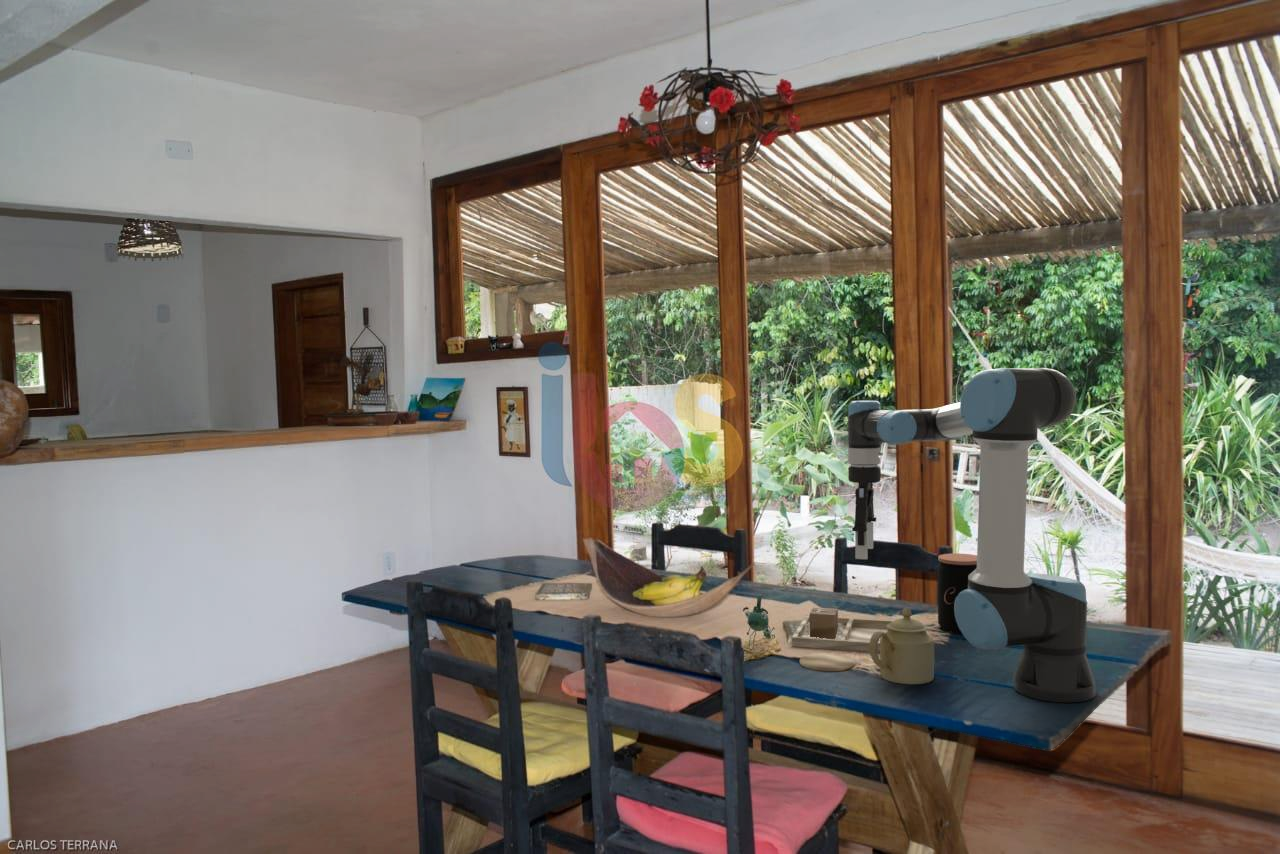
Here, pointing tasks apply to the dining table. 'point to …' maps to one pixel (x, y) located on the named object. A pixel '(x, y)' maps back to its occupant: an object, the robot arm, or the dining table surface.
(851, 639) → the tray
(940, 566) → the coffee jar
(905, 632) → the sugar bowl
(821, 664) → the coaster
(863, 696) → the dining table surface
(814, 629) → the letter cube
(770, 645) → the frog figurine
